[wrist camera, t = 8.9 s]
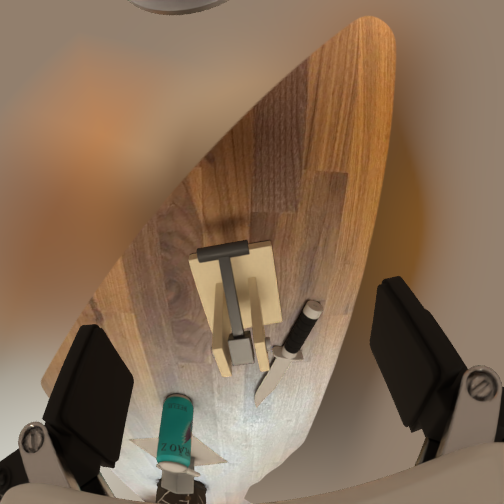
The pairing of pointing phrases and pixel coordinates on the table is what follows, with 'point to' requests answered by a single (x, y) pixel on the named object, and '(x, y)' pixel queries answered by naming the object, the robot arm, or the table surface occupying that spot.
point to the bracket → (240, 301)
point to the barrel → (181, 495)
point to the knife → (289, 350)
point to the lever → (231, 298)
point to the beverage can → (175, 434)
